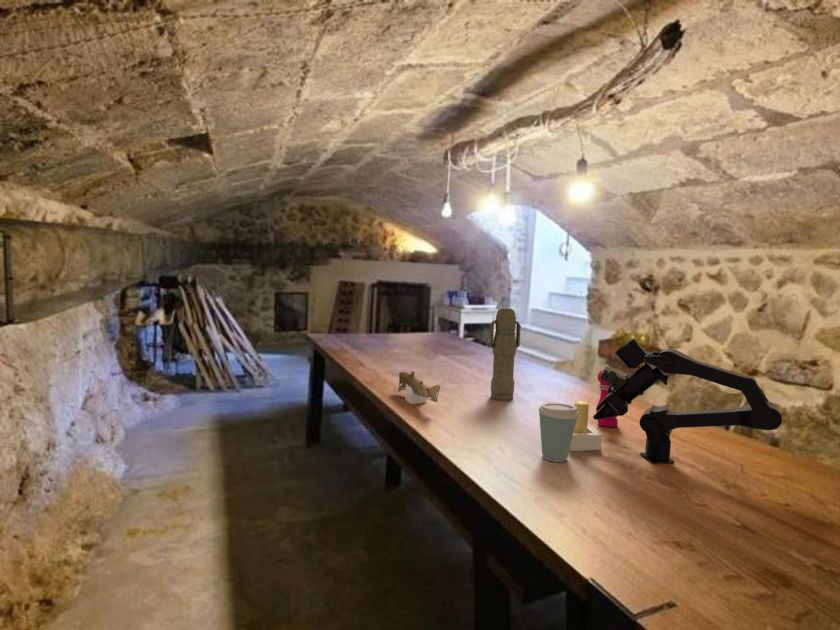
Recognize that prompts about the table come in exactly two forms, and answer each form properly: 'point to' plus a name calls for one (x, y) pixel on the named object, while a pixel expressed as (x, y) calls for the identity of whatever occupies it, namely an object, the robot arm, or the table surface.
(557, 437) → the disposable coffee cup
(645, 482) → the table surface
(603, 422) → the pepper mill
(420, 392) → the wood carving
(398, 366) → the table surface
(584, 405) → the peg
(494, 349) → the thermos
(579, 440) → the socket
